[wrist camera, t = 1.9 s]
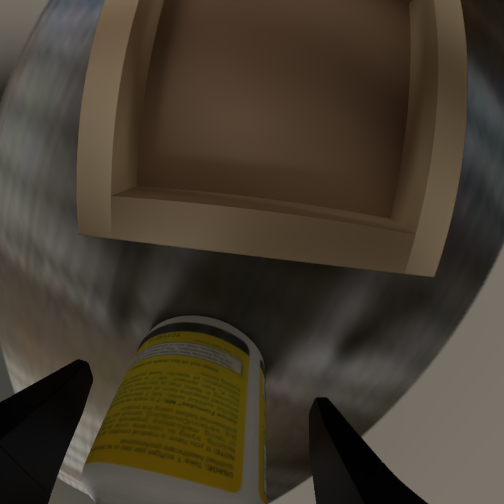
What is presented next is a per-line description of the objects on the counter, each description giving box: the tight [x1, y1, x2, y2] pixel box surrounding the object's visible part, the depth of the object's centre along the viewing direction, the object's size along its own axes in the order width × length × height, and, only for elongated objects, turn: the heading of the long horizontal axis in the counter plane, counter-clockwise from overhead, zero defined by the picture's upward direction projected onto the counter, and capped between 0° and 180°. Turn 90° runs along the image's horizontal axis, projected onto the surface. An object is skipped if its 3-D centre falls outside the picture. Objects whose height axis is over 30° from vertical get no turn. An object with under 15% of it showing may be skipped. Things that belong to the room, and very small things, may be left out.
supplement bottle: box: [82, 315, 267, 504], centre depth 6 cm, size 5×5×8 cm
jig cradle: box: [77, 0, 468, 277], centre depth 6 cm, size 10×10×2 cm
